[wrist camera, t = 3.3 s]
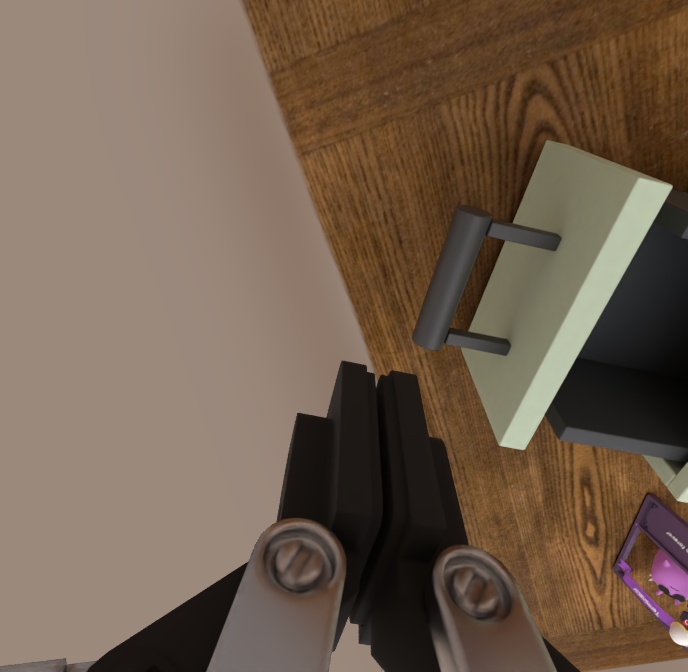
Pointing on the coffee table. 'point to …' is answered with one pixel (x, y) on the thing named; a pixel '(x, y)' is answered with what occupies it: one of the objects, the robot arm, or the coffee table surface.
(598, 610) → the coffee table surface
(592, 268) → the green drawer
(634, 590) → the game card
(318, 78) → the coffee table surface
